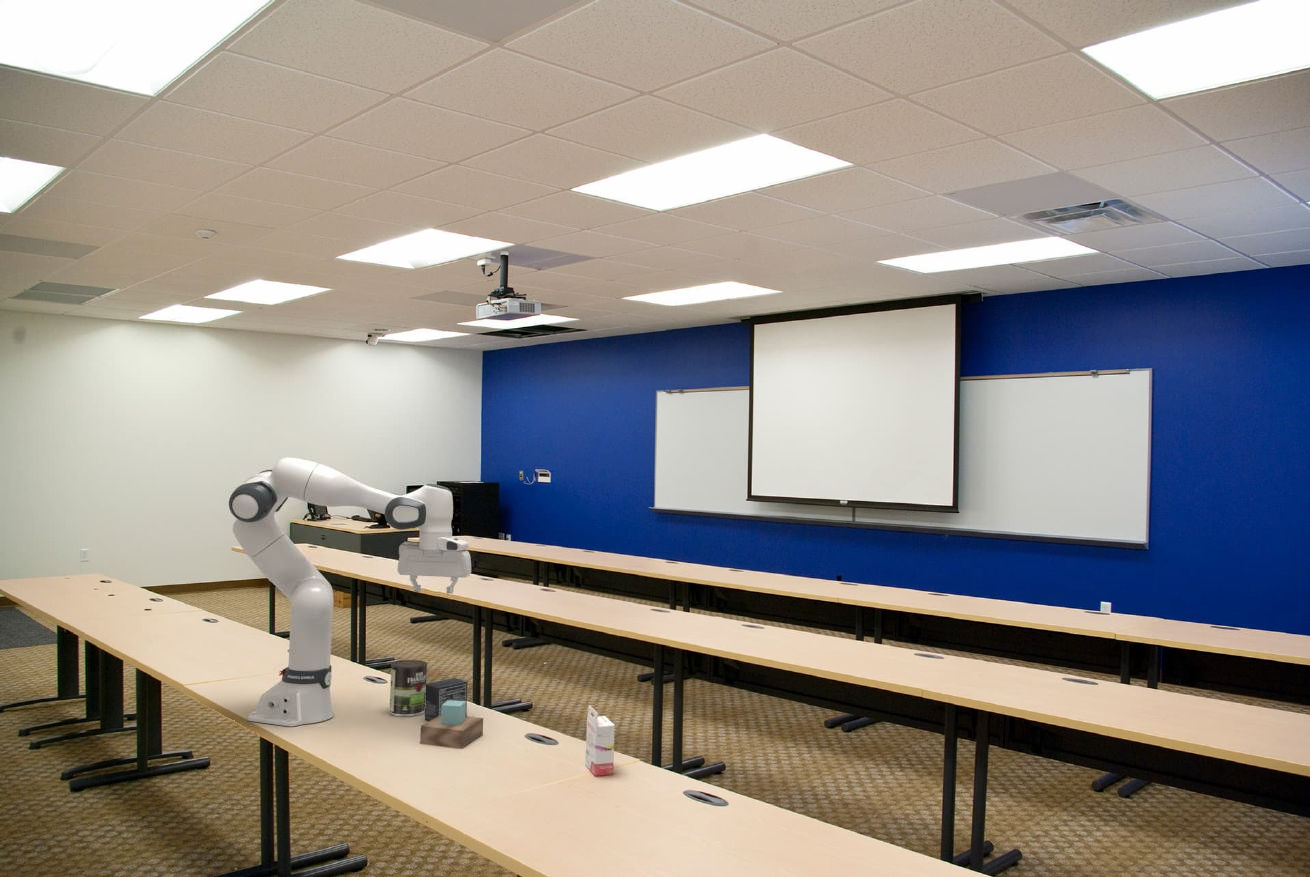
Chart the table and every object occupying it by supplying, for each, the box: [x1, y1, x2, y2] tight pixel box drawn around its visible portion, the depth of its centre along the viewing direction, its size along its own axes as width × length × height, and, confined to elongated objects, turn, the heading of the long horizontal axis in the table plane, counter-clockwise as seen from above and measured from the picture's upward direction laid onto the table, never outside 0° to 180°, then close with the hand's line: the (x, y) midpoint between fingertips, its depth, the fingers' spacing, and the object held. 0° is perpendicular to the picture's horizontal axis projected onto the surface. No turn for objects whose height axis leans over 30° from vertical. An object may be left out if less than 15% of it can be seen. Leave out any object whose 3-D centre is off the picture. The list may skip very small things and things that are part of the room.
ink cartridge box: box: [584, 705, 616, 777], centre depth 207 cm, size 9×5×15 cm, turn 21°
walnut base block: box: [419, 715, 484, 750], centre depth 226 cm, size 12×12×5 cm
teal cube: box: [441, 700, 466, 725], centre depth 226 cm, size 5×5×5 cm
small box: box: [424, 677, 468, 722], centre depth 245 cm, size 11×6×10 cm, turn 141°
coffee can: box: [388, 659, 428, 718], centre depth 250 cm, size 10×10×14 cm
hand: (433, 592), depth 237 cm, fingers open, 8 cm apart
